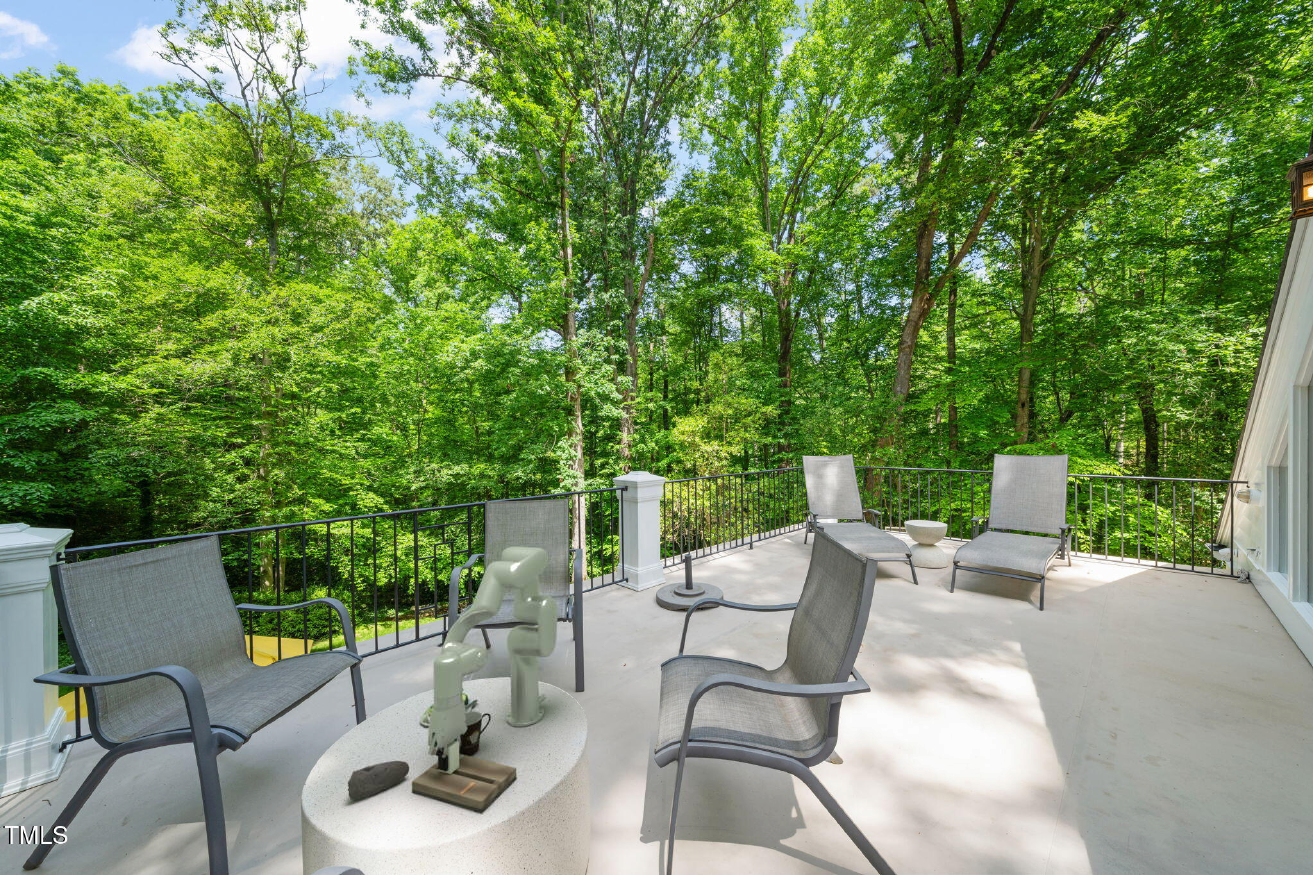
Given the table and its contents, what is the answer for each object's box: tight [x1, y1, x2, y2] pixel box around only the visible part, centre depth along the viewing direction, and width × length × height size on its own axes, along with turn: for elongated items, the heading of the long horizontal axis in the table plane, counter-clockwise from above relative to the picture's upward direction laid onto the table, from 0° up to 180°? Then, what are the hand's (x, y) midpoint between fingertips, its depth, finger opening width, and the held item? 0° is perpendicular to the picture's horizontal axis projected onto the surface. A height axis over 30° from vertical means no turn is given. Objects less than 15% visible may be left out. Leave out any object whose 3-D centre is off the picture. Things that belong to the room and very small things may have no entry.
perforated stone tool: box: [347, 760, 410, 801], centre depth 131 cm, size 15×5×7 cm, turn 125°
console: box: [411, 754, 517, 814], centre depth 131 cm, size 14×24×3 cm, turn 69°
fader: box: [438, 740, 459, 774], centre depth 134 cm, size 3×4×9 cm
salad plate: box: [419, 692, 479, 728], centre depth 168 cm, size 19×18×5 cm
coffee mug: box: [459, 710, 492, 757], centre depth 148 cm, size 12×9×10 cm
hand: (448, 764), depth 133 cm, fingers closed on fader, 3 cm apart
